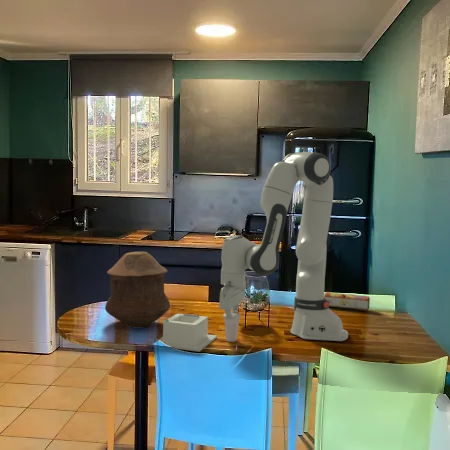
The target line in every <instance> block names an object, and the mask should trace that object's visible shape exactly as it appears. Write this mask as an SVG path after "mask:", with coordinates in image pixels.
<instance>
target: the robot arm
mask: <svg viewBox="0 0 450 450" xmlns="http://www.w3.org/2000/svg"><path fill="white" fill-rule="evenodd" d="M333 179H334V178H333V177H332V176H331V163H330V159H329V157H327V155H325V154H323V153H320V152H312V151H302V152H300V151H299V152H292V153H288V154H287V155H286V156H284V158H283V159H282V160H281V161H278V162H276V163H274V164H273V166H272V167H271V169H270V171H269V173H268V176H267V177H266V180H265V182H264V185H263V188H262V191H261V195H260V206H261V209H262V210H263V212H264V214H265V217H266V225H265V228H264V232H263V236H262V242H261V243H260V244H257V243H255V242H253V241H250V240H249V239H248V238H246V237H244V236H243V235H242V234H241V235H231V236H227V237H226V238H224V240H223V242H222V248H221V257H220V258H221V265H222V266H221V269H220V270H221V271H220V285H222V286H223V287H221V289H220V292H219V304H218V306H219V309H220V310H224V312H225V313H226V319H228V320H230V319H231V318H232V314H231V313H232V307H233V313H238V314H239V307H240V303H241V302H242V301H243V300H244V298H245V295H246V286H247V285H246V284H247V281H248V276H247V275H246V270H251V271H253V272H254V273H255V274H256V275H258V276H261V277H268V276H270V275H272V274H274V273H275V272H276V271H277V269H278V267H279V265H280V253H279V251H280V246H281V241H282V237H283V235H284V234H283V233H284V230H285V225H286V220H287V215H288V210H289V206H290V204H291V201H292V196H293V193H294V191H295V187H296V185H297V184H298V183H299V182H303V183H304V185H305V190H304V195H303V198H304V199H303V205H302V212H301V213H302V214H301V220H300V224H299V229H298V235H297V240H296V246H295V255H296V258H297V259H298V260H297V270H296V271H297V273H296V279H295V280H296V282H295V284H296V285H295V296H294V300H293V309H294V313H293V314H294V315H293V319H292V320H293V321H292V325H291V329H290V330H289V331H290V333H291V334H293V335H295V336H298V337H300V338H301V339H304V340H316V341H335V342H343V341H346V340H347V339H348V338H349V333H348V331H347V330H346V329H344V327H343V321H342V319H341V318H340V317H339V315H337V314H336V313H335V312H333V310H331V309H330V308H329V307H330V306H329V300H326V299H325V298H324V296H325V283H326V282H325V278H326V269H327V268H326V267H327V254H328V253H327V250H328V249H327V247H328V246H327V240H328V234H329V228H330V227H329V226H330V222H331V215H332V208H333V200H334V180H333ZM225 313H224V314H225Z"/></svg>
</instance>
